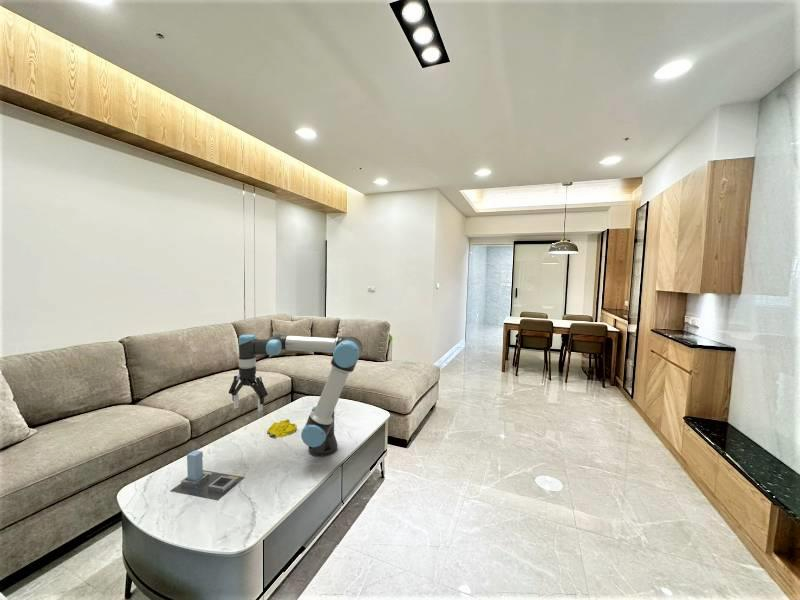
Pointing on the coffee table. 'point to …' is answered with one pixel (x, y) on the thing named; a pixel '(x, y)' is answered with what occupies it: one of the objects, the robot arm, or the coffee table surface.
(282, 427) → the door knocker
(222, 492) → the panel
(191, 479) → the plug
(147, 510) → the coffee table surface
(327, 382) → the robot arm
